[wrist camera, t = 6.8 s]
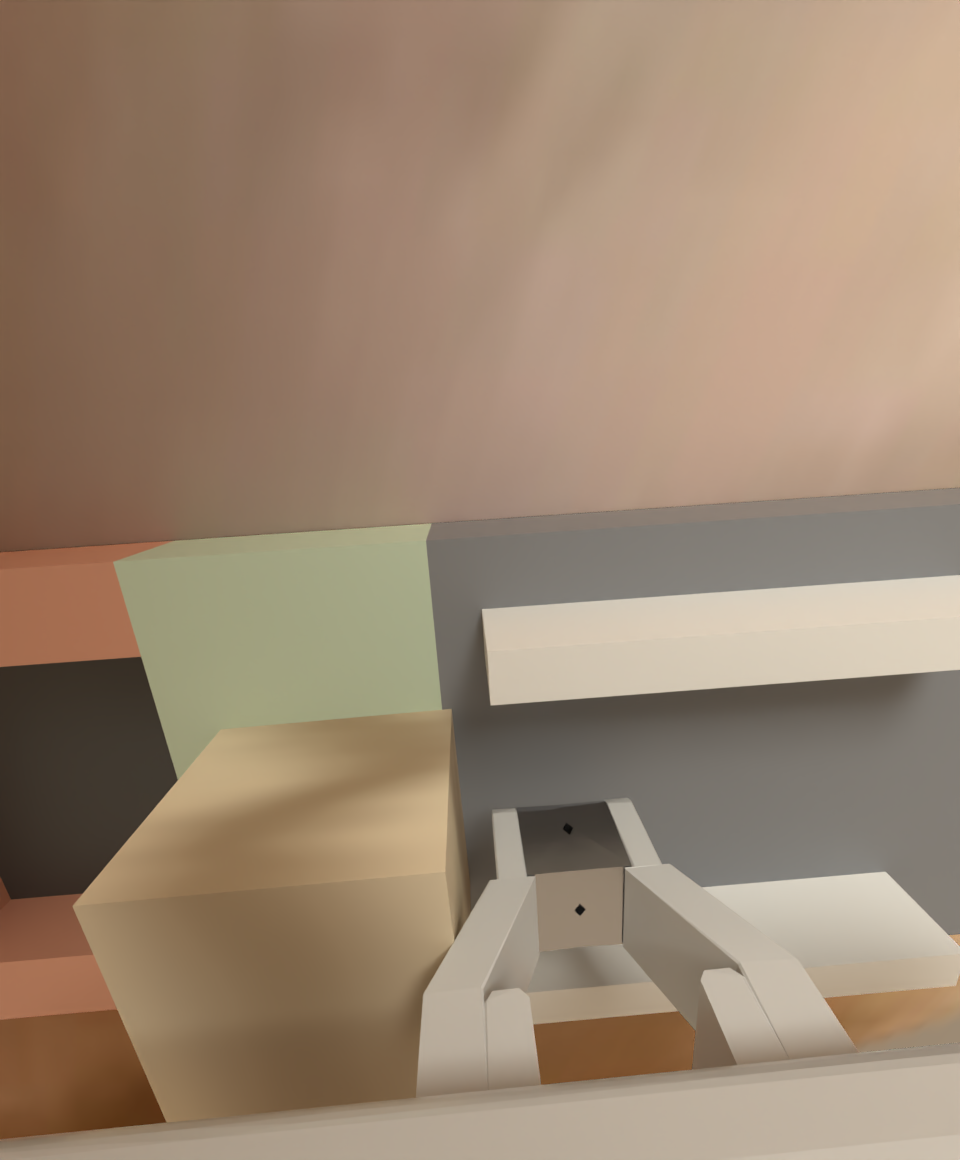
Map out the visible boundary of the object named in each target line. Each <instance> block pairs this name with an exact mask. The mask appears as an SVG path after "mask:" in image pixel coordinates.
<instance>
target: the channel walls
mask: <svg viewBox="0 0 960 1160" xmlns="http://www.w3.org/2000/svg"><path fill="white" fill-rule="evenodd" d="M482 621H483V637H484V652H485V662H486V670H487V679H488V687H489V696H490V705H504V704H517V703H530V702H543V701H556V700H569V699H583V698H596V697H609V696H622V695H635V694H648V693H661V692H674V691H688V690H701V689H714V688H727V687H740V686H753V685H766V684H779V683H792V682H806V681H819V680H832V679H845V678H858V677H871V676H884V675H897V674H911V673H924V672H937V671H950V670H960V575H953V576H939V577H925V578H911V579H897V580H883V581H869V582H855V583H841V584H827V585H813V586H799V587H785V588H771V589H757V590H743V591H729V592H715V593H701V594H687V595H673V596H660V597H646V598H632V599H618V600H604V601H590V602H576V603H562V604H548V605H534V606H520V607H506V608H492V609H482ZM702 888H703V889H704V890H706V891H707V892H708V893H710V894H711V895H712V896H714V897H715V898H717V899H718V900H719V901H721V902H722V903H723V904H725V905H726V906H727V907H729V908H730V909H731V910H733V911H734V912H735V913H737V914H738V915H739V916H741V917H742V918H743V919H745V920H746V921H747V922H749V923H750V924H751V925H753V926H754V927H755V928H757V929H758V930H760V931H761V932H762V933H764V934H765V935H766V936H768V937H769V938H770V939H772V940H773V941H774V942H776V943H777V944H778V945H780V946H781V947H782V948H784V949H785V950H786V951H788V952H789V953H790V954H792V955H793V956H794V957H796V958H797V959H798V960H799V961H800V963H801V965H802V966H803V968H804V969H805V971H806V972H807V974H808V975H809V977H810V978H811V980H812V981H813V983H814V984H815V986H816V987H817V989H818V990H819V992H820V994H821V995H822V997H823V998H827V997H838V996H849V995H860V994H871V993H882V992H893V991H904V990H914V989H925V988H936V987H947V986H956V983H957V980H958V977H959V974H960V946H959V945H958V944H957V943H956V942H955V941H954V940H953V939H952V938H951V937H950V936H949V935H948V934H947V933H946V932H945V931H944V930H943V929H942V928H941V927H940V926H939V925H938V924H937V923H936V922H935V921H934V920H933V919H932V918H931V917H930V916H929V915H928V914H927V913H926V912H925V911H924V910H923V909H922V908H921V907H920V906H919V905H918V904H917V903H916V902H915V901H914V900H913V899H912V898H911V897H910V896H909V895H908V894H907V893H906V892H905V891H904V890H903V889H902V888H901V887H900V886H899V885H898V884H897V883H896V882H895V881H894V880H893V879H892V878H891V877H890V876H889V875H888V874H887V873H886V872H875V873H864V874H852V875H840V876H829V877H817V878H805V879H794V880H782V881H770V882H759V883H747V884H735V885H724V886H712V887H702ZM526 994H527V995H528V996H529V998H530V1005H531V1013H532V1020H533V1024H544V1023H555V1022H566V1021H577V1020H588V1019H598V1018H609V1017H620V1016H631V1015H642V1014H653V1013H664V1012H675V1011H678V1010H677V1009H676V1008H675V1007H674V1005H673V1004H672V1003H671V1002H670V1001H669V1000H668V998H667V997H666V996H665V995H664V994H663V993H662V992H661V990H660V989H659V988H658V987H657V986H656V985H655V983H654V982H653V981H652V980H651V979H650V978H649V976H648V975H647V974H646V973H645V972H644V971H643V969H642V968H641V967H640V966H639V965H638V964H637V963H636V961H635V960H634V959H633V958H632V957H631V956H630V954H629V953H628V952H627V951H626V950H625V949H624V947H623V944H619V945H603V946H587V947H576V948H568V949H560V950H552V951H545V952H539V958H538V961H537V964H536V967H535V970H534V973H533V976H532V979H531V982H530V984H529V987H528V990H527V993H526Z"/></svg>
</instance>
